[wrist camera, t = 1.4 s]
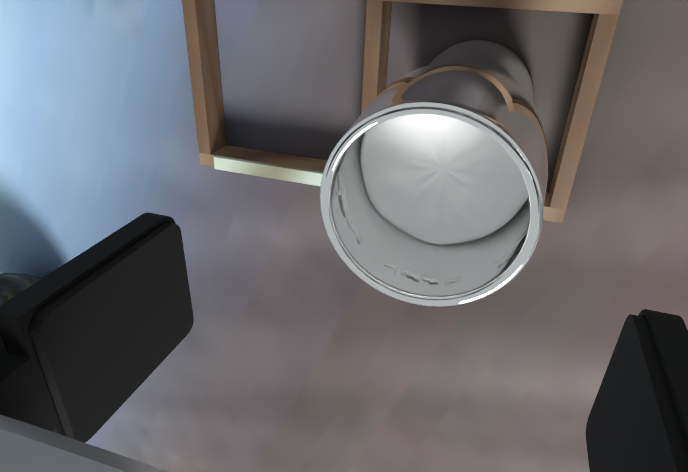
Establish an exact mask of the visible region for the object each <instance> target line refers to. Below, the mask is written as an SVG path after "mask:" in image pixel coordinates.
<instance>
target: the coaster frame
mask: <svg viewBox="0 0 688 472" xmlns="http://www.w3.org/2000/svg"><path fill="white" fill-rule="evenodd" d="M392 2H408V3H425V4H442V5H459V6H476V7H493V8H510V9H526V10H543V11H560V12H577V13H594V15H593V19H592V23H591V27H590V31H589V35H588V39H587V42H586V46H585V50H584V54H583V58H582V62H581V66H580V70H579V74H578V78H577V82H576V86H575V90H574V94H573V98H572V102H571V106H570V110H569V114H568V118H567V122H566V126H565V130H564V134H563V138H562V142H561V146H560V150H559V154H558V158H557V162H556V166H555V170H554V174H553V178H552V182H551V186H550V190H549V193H547V192H546V196H545V202H544V207H543V220H545V221H552V222H558V223H562V222H563V218H564V215H565V211H566V207H567V204H568V200H569V196H570V193H571V189H572V185H573V182H574V178H575V175H576V171H577V167H578V164H579V160H580V156H581V153H582V149H583V145H584V142H585V138H586V134H587V131H588V127H589V124H590V120H591V116H592V113H593V109H594V105H595V102H596V98H597V94H598V91H599V87H600V83H601V80H602V76H603V73H604V69H605V65H606V62H607V58H608V54H609V51H610V47H611V43H612V40H613V36H614V32H615V29H616V25H617V22H618V18H619V14H620V11H621V7H622V3H623V0H367V7H366V27H365V48H364V68H363V88H362V109H361V113H362V112H363V111H364V110H365V108H366V107H367V106H368V105H369V104H370V103H371V102H372V101H373V100H374V99H375V98H376V97H377V96H378V95H379V94H380V93H381V92H382V91H383V90H385V89H386V77H387V63H388V49H389V35H390V21H391V7H392ZM182 4H183V13H184V22H185V31H186V40H187V48H188V57H189V66H190V75H191V84H192V93H193V101H194V110H195V119H196V128H197V137H198V145H199V154H200V163H201V165H206V166H212V167H214V168H215V169H218V170H224V171H230V172H236V173H243V174H249V175H255V176H261V177H267V178H273V179H279V180H285V181H292V182H298V183H304V184H310V185H316V186H321V180H322V176H323V172H324V168H325V166H326V163H327V161H328V160H324V159H317V158H310V157H303V156H297V155H290V154H283V153H276V152H270V151H263V150H256V149H249V148H243V147H236V146H229V145H226V134H225V123H224V111H223V99H222V88H221V76H220V64H219V52H218V41H217V29H216V17H215V6H214V0H182Z"/></svg>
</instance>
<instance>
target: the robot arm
mask: <svg viewBox="0 0 688 472" xmlns="http://www.w3.org/2000/svg"><path fill="white" fill-rule="evenodd" d="M192 325H193V311H192V304H191V297H190V290H189V284H188V277H187V270H186V263H185V256H184V249H183V242H182V235H181V230H180V227H179V226H178V225H176V224H175V221H174V220H173V218H171V217H169V216H164V215H159V214H153V213H144V214H142V215H141V216H139V217H138V218H136V219H134V220H133V221H131V222H130V223H128V224H127V225H125V226H123V227H122V228H120V229H119V230H117V231H116V232H114V233H113V234H111V235H109V236H108V237H106V238H105V239H103V240H102V241H100V242H99V243H97V244H95V245H94V246H92V247H91V248H89V249H88V250H86V251H85V252H83V253H81V254H80V255H78V256H77V257H75V258H74V259H72V260H70V261H69V262H67V263H66V264H64V265H63V266H61V267H60V268H58V269H56V270H55V271H53V272H52V273H50V274H49V275H47V276H46V277H44V278H42V279H41V280H39V281H38V282H36V283H35V284H33V285H31V286H30V287H28V288H27V289H25V290H24V291H22V292H21V293H19V294H17V295H16V296H14V297H13V298H11V299H10V300H8V301H7V302H5V303H3V304H2V305H0V472H168V471H165V470H162V469H159V468H156V467H153V466H150V465H148V464H145V463H142V462H139V461H136V460H133V459H130V458H127V457H124V456H121V455H118V454H116V453H113V452H110V451H107V450H104V449H101V448H98V447H95V446H92V445H89V444H86V443H85V442H87V441H88V440H89V439H90V438H92V436H93V435H94V434H95V433H96V432H97V431H98V430H99V429H100V428H101V427H102V426H103V425H104V424H105V422H106V421H107V420H108V419H109V418H110V417H111V416H112V415H113V414H114V413H115V412H116V411H117V410H118V409H119V407H120V406H121V405H122V404H123V403H124V402H125V401H126V400H127V399H128V398H129V397H130V396H131V395H132V393H133V392H134V391H135V390H136V389H137V388H138V387H139V386H140V385H141V384H142V383H143V382H144V381H145V380H146V378H147V377H148V376H149V375H150V374H151V373H152V372H153V371H154V370H155V369H156V368H157V367H158V366H159V365H160V363H161V362H162V361H163V360H164V359H165V358H166V357H167V356H168V355H169V354H170V353H171V352H172V351H173V349H174V348H175V347H176V346H177V345H178V344H179V343H180V342H181V341H182V340H183V339H184V338H185V337H186V336H187V334H188V333H189V332H190V330H191V328H192ZM586 442H587V451H588V460H589V468H590V472H688V330H687V328H686V325H685V323H684V321H683V319H682V318H681V317H680V316H678V315H672V314H667V313H662V312H657V311H652V310H647V309H644V310H642V311H641V312H640V314H639V316H636V315H631V314H630V315H629V316H628V317H627V318H626V321H625V323H624V326H623V328H622V331H621V333H620V336H619V339H618V341H617V344H616V347H615V349H614V352H613V354H612V357H611V360H610V362H609V365H608V368H607V370H606V373H605V375H604V378H603V381H602V383H601V386H600V389H599V391H598V394H597V396H596V399H595V402H594V404H593V407H592V409H591V412H590V415H589V418H588V421H587V427H586Z"/></svg>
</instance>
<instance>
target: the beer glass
mask: <svg viewBox="0 0 688 472" xmlns="http://www.w3.org/2000/svg"><path fill="white" fill-rule="evenodd" d="M547 180H548V152H547V145H546V140H545V135H544V130H543V126H542V123H541V120H540V117H539V115H538V113H537V111H536V109H535V107H534V105H533V85H532V81H531V77H530V75H529V72H528V70H527V68H526V66H525V65H524V63H523V62H522V61H521V59H520V58H519V57H518V56H517V55H516V54H515V53H513V52H512V51H511V50H509V49H508V48H506V47H504V46H502V45H500V44H498V43H495V42H491V41H485V40H471V41H465V42H461V43H458V44H456V45H453V46H451V47H449V48H447V49H446V50H444V51H443V52H441V53H440V54H439V55H438V56H437V57H435V58H434V59H433V60H432V62H431V63H430V64H429V65H427V66H423V67H421V68H418V69H416V70H414V71H411V72H410V73H408V74H406V75H404V76H403V77H401V78H400V79H398V80H397V81H395V82H394V83H392V84H391V85H390V86H388V87H387V88H386V89H385V90H383V91H382V92H381V93H380V94H379V95H378V96H377V97H376V98H375V99H374V100H373V101H372V102H371V103H370V104H369V105H368V106H367V107H366V108H365V110H364V111H363V112H362V113H361V115H360V116H359V117H358V119H357V120H356V121H355V122H354V124H353V125H352V126H351V128H350V129H349V130H348V131H347V132H346V133H345V134H344V136H343V137H342V138H341V139H340V140H339V142H338V143H337V144H336V146H335V147H334V149H333V151H332V152H331V154H330V156H329V158H328V161H327V163H326V166H325V168H324V172H323V176H322V180H321V186H320V208H321V215H322V219H323V223H324V227H325V230H326V232H327V235H328V237H329V239H330V241H331V243H332V245H333V247H334V249H335V250H336V252H337V253H338V255H339V256H340V258H341V259H342V260H343V261H344V263H345V264H346V265H347V266H348V267H349V268H350V269H351V270H352V271H353V272H354V273H355V274H356V275H357V276H358V277H359V278H361V279H362V280H363V281H364V282H366V283H367V284H369V285H370V286H372V287H373V288H375V289H376V290H378V291H380V292H382V293H384V294H386V295H388V296H390V297H393V298H396V299H398V300H401V301H405V302H408V303H412V304H418V305H424V306H453V305H460V304H465V303H469V302H473V301H476V300H479V299H481V298H484V297H486V296H488V295H490V294H492V293H494V292H496V291H497V290H499V289H501V288H502V287H504V286H505V285H506V284H508V283H509V282H510V281H511V280H512V279H513V278H515V277H516V276H517V275H518V273H519V272H520V271H521V270H522V269H523V268H524V266H525V265H526V264H527V262H528V261H529V259H530V257H531V256H532V254H533V252H534V250H535V248H536V246H537V243H538V240H539V237H540V234H541V229H542V224H543V207H544V202H545V196H546V189H547Z"/></svg>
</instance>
